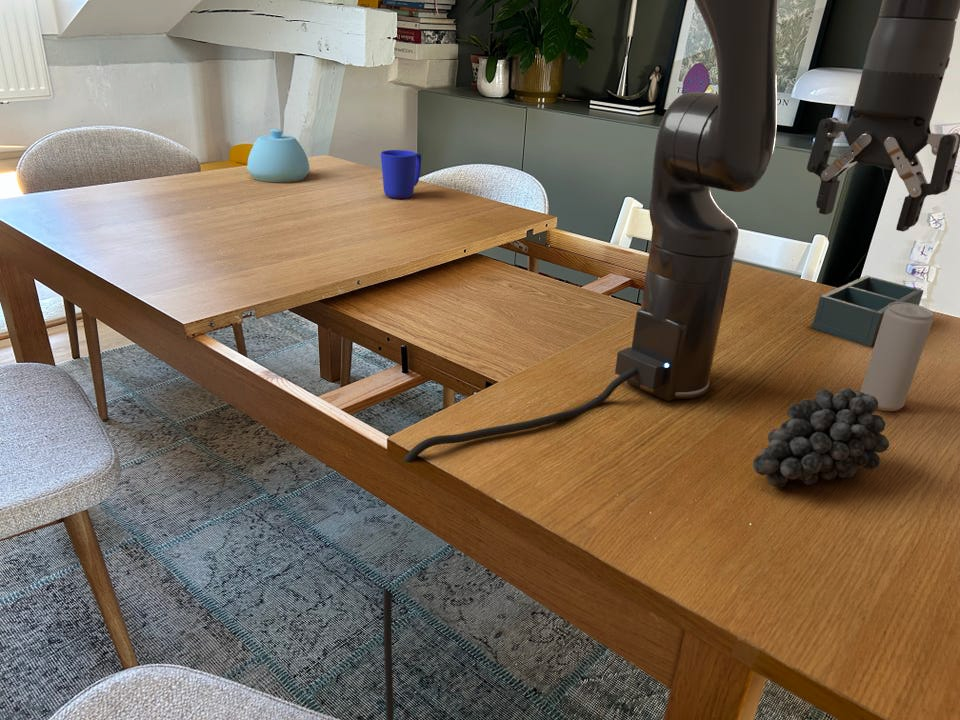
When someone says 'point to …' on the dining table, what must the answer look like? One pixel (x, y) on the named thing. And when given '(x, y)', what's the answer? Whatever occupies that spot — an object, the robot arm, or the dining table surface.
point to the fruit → (824, 439)
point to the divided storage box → (860, 308)
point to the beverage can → (896, 354)
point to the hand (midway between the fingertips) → (862, 221)
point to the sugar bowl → (277, 158)
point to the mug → (400, 172)
